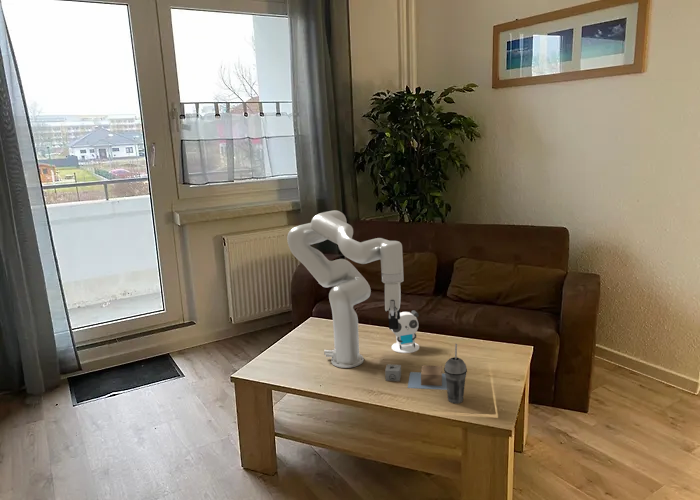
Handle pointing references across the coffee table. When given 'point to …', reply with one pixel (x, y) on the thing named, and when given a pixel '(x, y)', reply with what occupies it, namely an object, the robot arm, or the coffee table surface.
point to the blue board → (416, 383)
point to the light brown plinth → (431, 375)
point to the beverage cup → (455, 378)
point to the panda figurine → (406, 333)
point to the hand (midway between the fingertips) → (394, 323)
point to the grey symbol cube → (393, 372)
